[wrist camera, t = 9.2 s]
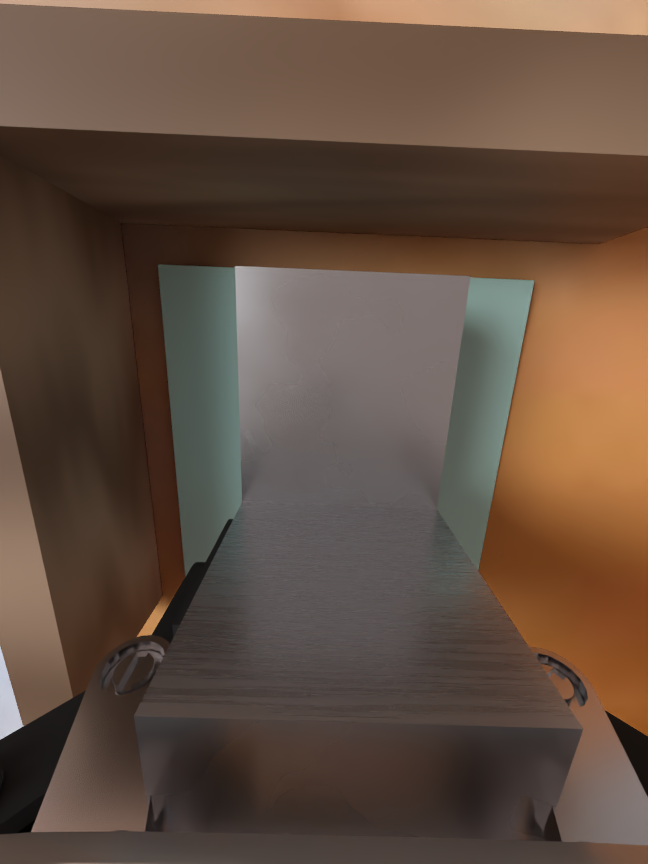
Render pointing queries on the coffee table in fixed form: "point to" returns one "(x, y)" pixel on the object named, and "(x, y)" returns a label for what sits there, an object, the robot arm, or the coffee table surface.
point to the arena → (240, 208)
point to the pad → (219, 402)
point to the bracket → (349, 597)
